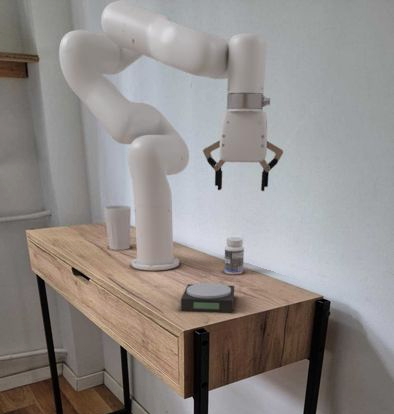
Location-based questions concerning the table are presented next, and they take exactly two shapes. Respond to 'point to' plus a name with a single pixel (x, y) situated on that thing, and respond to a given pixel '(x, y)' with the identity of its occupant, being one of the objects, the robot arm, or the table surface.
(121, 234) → the cup
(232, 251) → the pill bottle
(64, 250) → the table surface
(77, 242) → the table surface
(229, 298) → the scale
